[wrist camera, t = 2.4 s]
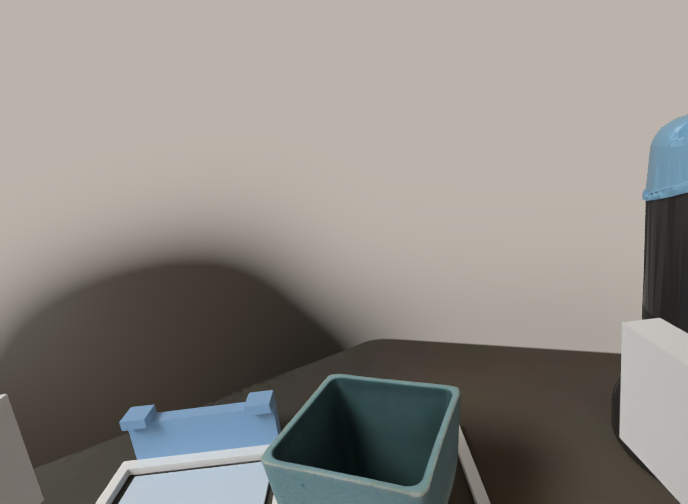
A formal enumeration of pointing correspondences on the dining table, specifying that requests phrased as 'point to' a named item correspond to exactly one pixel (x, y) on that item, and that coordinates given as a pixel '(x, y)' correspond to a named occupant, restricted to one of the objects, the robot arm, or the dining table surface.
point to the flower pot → (368, 444)
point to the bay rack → (214, 455)
